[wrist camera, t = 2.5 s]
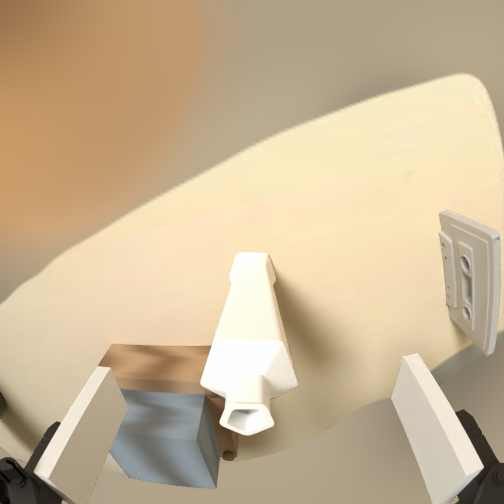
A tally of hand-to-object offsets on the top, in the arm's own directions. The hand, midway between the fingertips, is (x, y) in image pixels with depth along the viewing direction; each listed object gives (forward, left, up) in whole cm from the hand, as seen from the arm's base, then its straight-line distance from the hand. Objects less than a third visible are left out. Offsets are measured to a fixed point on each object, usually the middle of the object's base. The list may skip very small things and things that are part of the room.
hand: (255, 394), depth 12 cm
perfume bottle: (0, 0, -14) cm, 14 cm away
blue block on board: (-9, -13, -13) cm, 21 cm away
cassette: (+19, -1, -14) cm, 23 cm away
